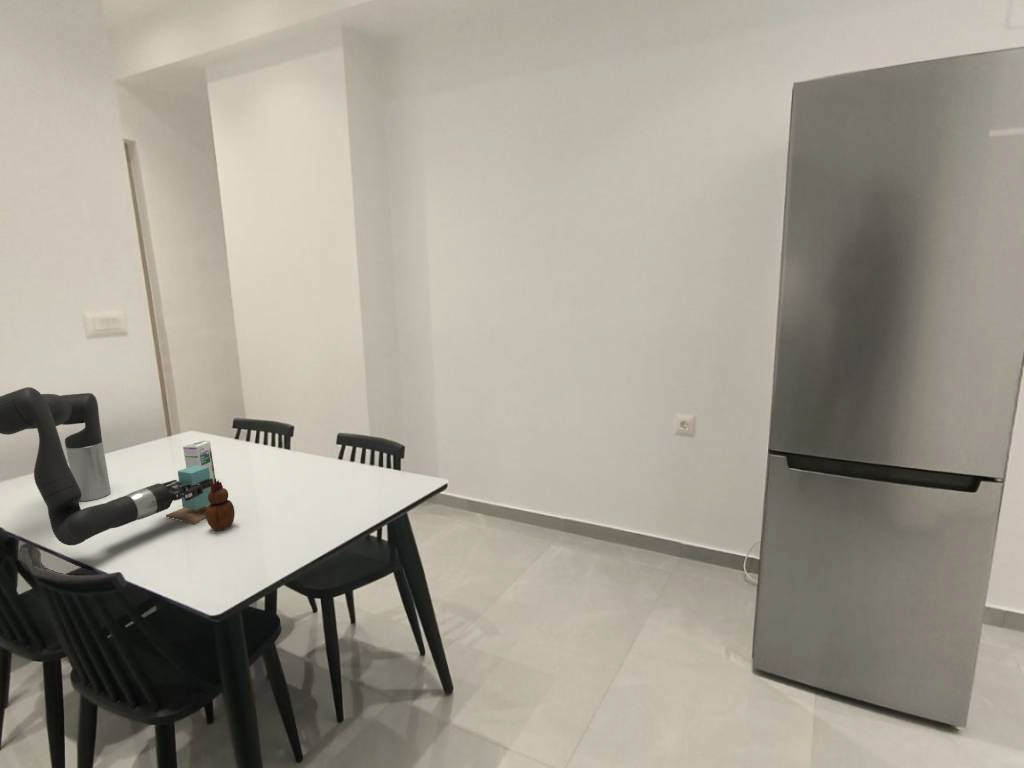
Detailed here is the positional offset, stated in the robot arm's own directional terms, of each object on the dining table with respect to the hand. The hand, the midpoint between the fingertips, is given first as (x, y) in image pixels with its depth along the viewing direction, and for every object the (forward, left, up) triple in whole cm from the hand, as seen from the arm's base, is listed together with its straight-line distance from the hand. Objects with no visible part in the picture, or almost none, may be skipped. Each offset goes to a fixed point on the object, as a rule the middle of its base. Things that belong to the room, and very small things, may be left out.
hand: (203, 481), depth 164 cm
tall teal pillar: (-1, -2, -6) cm, 7 cm away
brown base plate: (-1, -2, -9) cm, 9 cm away
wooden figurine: (+12, -12, -9) cm, 20 cm away
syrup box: (-14, +20, -9) cm, 26 cm away
